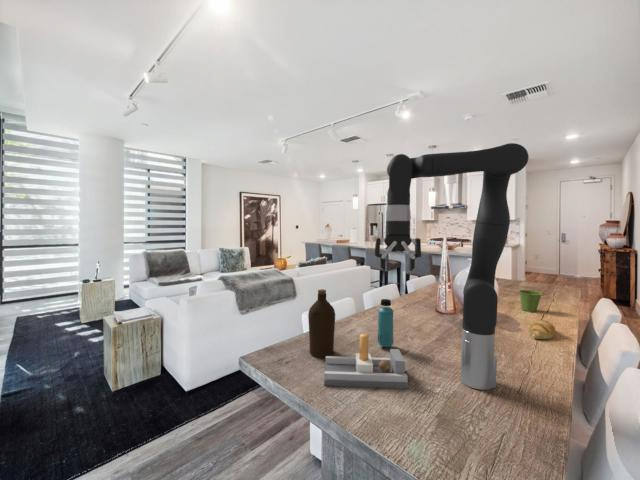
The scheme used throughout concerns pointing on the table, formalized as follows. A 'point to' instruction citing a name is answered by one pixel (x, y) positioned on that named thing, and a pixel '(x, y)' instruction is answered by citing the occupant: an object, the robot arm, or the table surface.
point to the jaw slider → (364, 356)
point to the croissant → (542, 330)
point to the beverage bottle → (385, 324)
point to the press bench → (345, 374)
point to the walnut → (384, 366)
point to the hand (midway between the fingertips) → (397, 270)
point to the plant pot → (529, 300)
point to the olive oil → (321, 327)
